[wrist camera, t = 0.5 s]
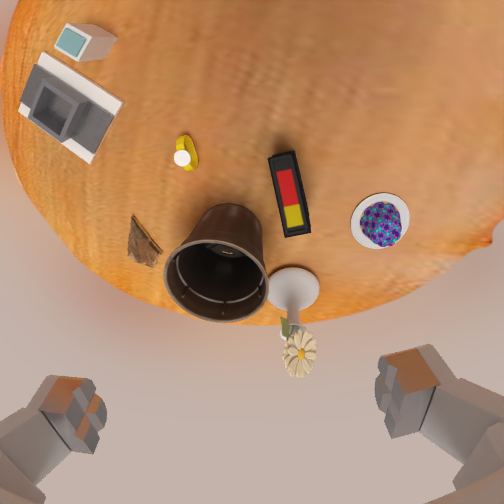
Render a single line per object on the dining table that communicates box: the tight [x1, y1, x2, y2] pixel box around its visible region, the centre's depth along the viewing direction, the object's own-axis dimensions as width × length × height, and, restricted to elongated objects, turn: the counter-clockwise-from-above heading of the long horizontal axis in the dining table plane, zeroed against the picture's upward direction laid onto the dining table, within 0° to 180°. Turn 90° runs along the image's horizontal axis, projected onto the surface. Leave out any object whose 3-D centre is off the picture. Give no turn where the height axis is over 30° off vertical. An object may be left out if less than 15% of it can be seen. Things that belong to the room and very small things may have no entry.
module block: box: [54, 23, 118, 62], centre depth 38 cm, size 4×6×10 cm
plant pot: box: [163, 204, 269, 323], centre depth 55 cm, size 16×16×16 cm
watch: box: [174, 135, 198, 171], centre depth 50 cm, size 6×3×6 cm, turn 15°
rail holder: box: [18, 51, 125, 164], centre depth 46 cm, size 14×22×5 cm, turn 51°
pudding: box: [351, 193, 410, 249], centre depth 55 cm, size 12×12×5 cm
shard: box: [128, 216, 162, 268], centre depth 64 cm, size 11×8×2 cm
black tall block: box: [268, 151, 311, 238], centre depth 50 cm, size 4×13×15 cm, turn 16°
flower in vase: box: [268, 267, 320, 378], centre depth 57 cm, size 13×11×25 cm
